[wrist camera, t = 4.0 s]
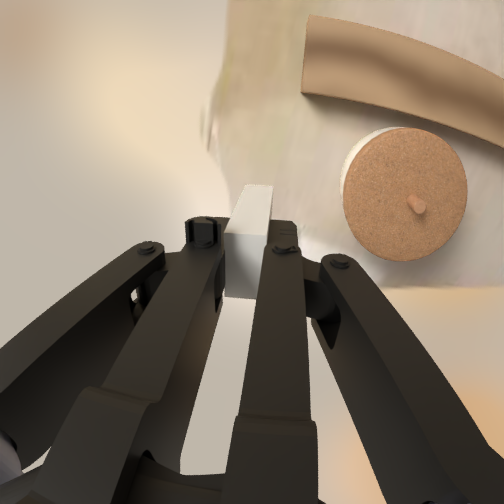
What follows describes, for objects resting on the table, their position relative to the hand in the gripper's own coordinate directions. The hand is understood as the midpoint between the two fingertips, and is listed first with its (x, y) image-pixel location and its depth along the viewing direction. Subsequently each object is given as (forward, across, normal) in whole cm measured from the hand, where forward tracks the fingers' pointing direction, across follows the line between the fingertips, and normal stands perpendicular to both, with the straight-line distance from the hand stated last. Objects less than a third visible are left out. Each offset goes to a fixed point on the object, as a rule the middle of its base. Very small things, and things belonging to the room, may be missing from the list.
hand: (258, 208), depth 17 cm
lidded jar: (+13, +11, 0) cm, 17 cm away
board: (+13, +19, +10) cm, 25 cm away
